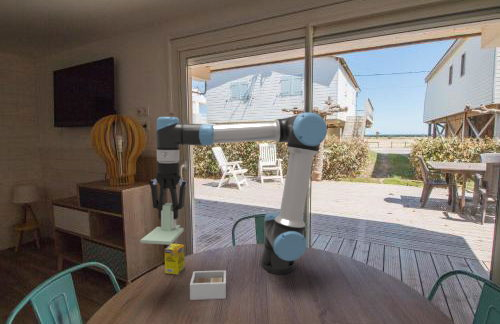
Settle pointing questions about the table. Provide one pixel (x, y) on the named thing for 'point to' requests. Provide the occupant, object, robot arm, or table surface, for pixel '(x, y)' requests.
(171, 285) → the table surface
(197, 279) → the walnut cube
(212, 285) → the tub
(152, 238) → the lid
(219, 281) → the beech cube
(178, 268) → the supplement box
